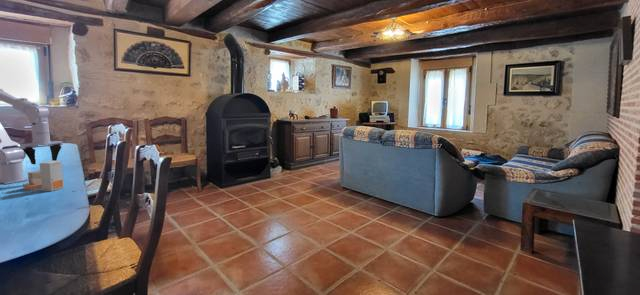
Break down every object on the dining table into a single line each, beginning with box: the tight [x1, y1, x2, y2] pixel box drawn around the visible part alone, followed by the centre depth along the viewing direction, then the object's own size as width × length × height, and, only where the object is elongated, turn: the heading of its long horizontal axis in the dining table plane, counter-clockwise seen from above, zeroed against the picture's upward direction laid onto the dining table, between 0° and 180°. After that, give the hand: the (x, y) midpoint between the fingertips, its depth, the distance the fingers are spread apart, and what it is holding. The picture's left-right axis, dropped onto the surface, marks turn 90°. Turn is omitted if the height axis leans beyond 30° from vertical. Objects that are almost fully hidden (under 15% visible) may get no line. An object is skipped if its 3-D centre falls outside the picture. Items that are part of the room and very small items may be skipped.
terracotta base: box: [22, 182, 42, 192], centre depth 130 cm, size 7×7×2 cm
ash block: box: [27, 170, 42, 185], centre depth 129 cm, size 4×4×5 cm
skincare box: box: [39, 160, 65, 192], centre depth 127 cm, size 6×4×12 cm
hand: (44, 162), depth 137 cm, fingers open, 7 cm apart
